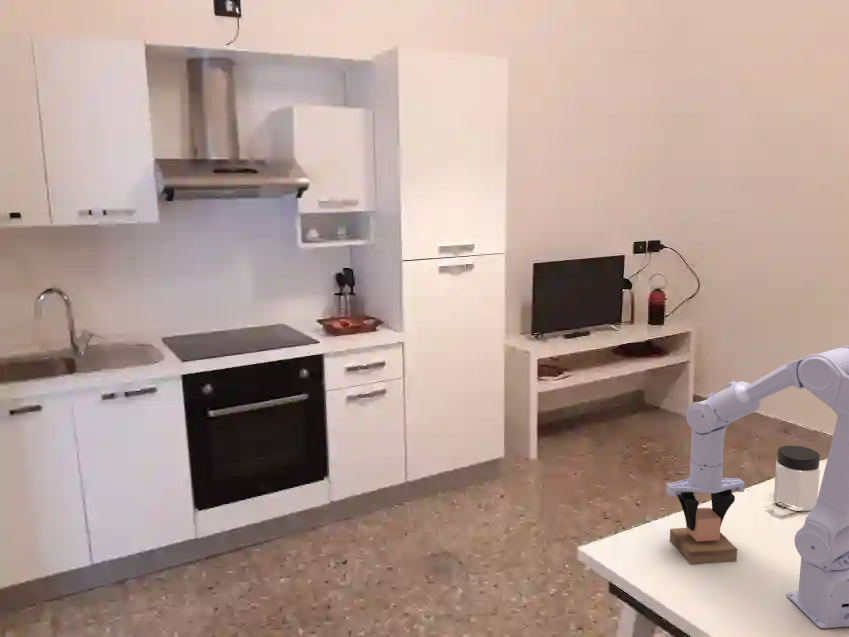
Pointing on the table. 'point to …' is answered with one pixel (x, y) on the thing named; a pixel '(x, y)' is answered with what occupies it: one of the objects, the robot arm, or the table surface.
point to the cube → (706, 525)
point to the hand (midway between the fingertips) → (703, 527)
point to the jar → (797, 476)
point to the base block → (702, 548)
